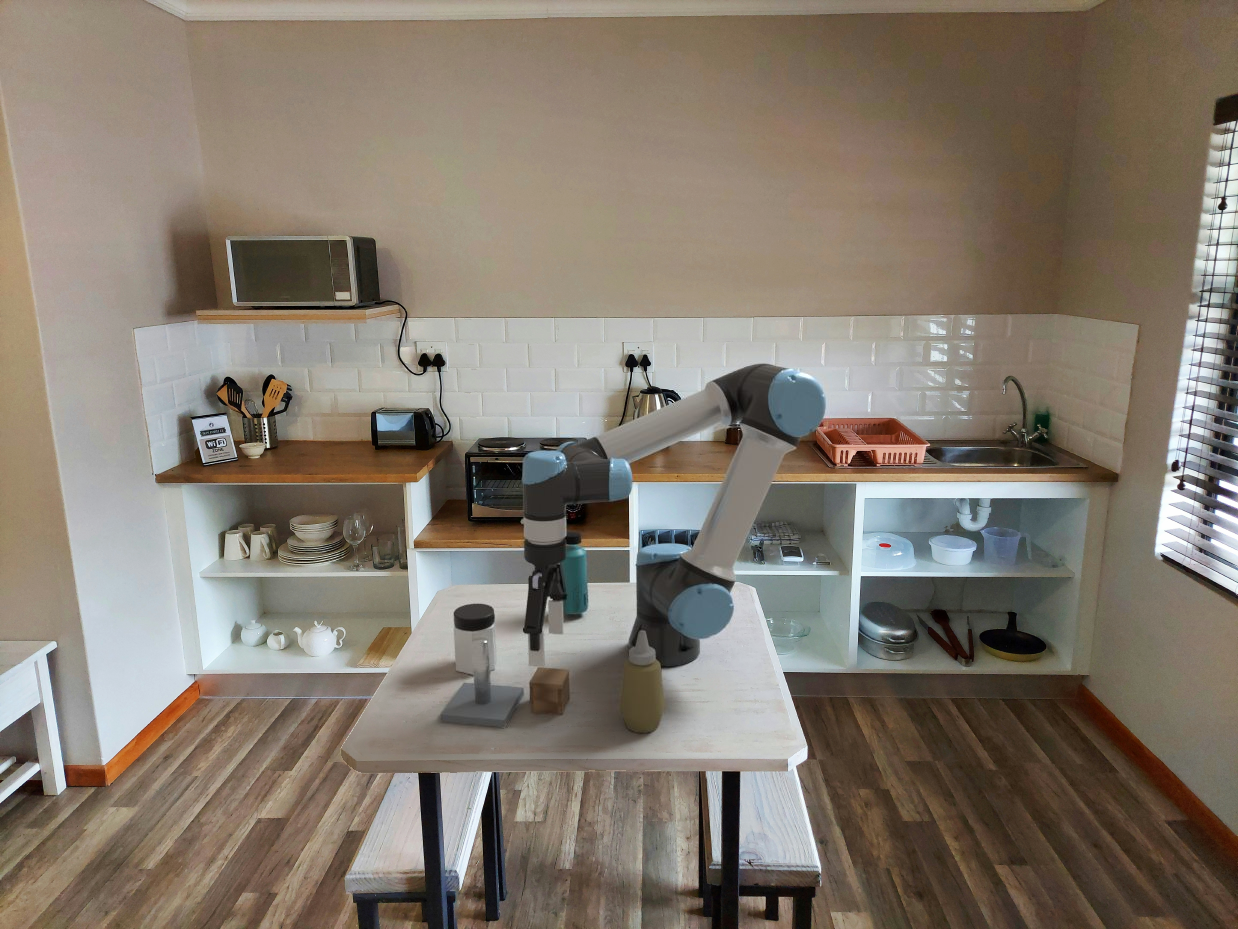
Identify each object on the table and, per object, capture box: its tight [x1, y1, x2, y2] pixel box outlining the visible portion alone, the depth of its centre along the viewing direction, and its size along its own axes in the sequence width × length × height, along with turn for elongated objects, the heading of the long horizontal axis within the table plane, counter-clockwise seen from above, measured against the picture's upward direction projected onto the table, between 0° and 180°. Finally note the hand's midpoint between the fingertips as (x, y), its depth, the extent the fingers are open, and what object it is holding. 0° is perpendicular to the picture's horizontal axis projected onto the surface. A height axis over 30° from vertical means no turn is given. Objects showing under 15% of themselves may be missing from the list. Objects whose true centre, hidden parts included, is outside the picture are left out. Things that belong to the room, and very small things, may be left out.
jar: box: [453, 603, 498, 676], centre depth 175 cm, size 9×8×12 cm
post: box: [472, 637, 492, 705], centre depth 158 cm, size 3×3×12 cm
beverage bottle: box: [561, 531, 590, 615], centre depth 198 cm, size 6×7×20 cm
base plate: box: [439, 682, 525, 728], centre depth 160 cm, size 12×12×2 cm
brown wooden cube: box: [528, 666, 571, 716], centre depth 160 cm, size 6×6×6 cm
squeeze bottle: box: [619, 630, 666, 734], centre depth 152 cm, size 8×8×18 cm
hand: (546, 648), depth 158 cm, fingers open, 13 cm apart
